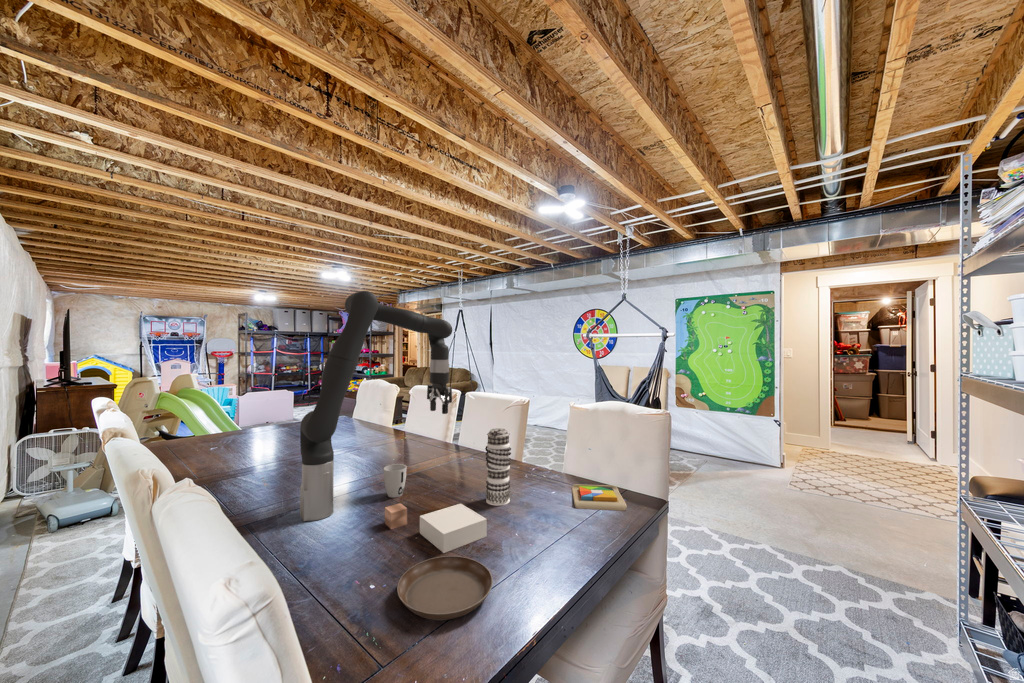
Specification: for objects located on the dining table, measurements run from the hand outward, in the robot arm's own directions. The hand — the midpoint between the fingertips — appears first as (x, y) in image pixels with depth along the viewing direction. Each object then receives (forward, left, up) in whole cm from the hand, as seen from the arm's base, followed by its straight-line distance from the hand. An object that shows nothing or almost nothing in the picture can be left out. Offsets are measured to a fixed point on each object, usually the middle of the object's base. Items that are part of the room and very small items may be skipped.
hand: (438, 412), depth 152 cm
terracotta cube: (-27, -21, -29) cm, 44 cm away
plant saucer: (-32, -60, -29) cm, 74 cm away
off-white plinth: (-17, -38, -28) cm, 50 cm away
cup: (-18, +1, -29) cm, 34 cm away
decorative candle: (+8, -27, -29) cm, 40 cm away
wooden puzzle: (+37, -48, -29) cm, 68 cm away
